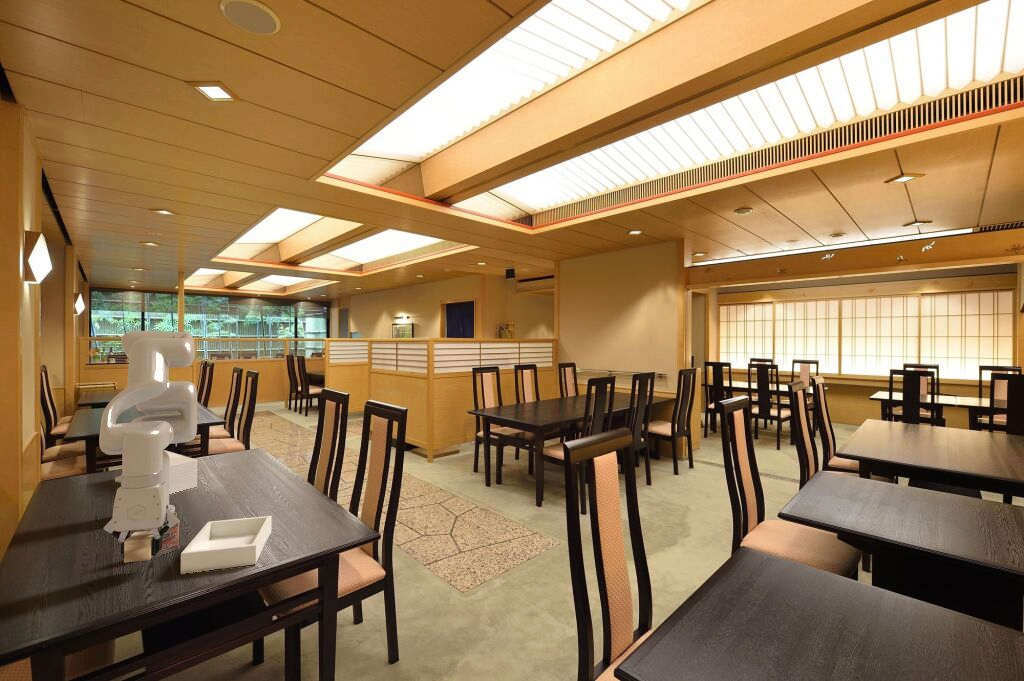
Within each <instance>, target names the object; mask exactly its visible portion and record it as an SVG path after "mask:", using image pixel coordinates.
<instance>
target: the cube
mask: <svg viewBox="0 0 1024 681" xmlns="http://www.w3.org/2000/svg"><path fill="white" fill-rule="evenodd" d="M153 539H154V536H153V533H152V531H143V532H142V531H134V532H133V533H131V534H130V537H129V538H128V539H126V540H125V541H124V559H123V563H125V564H126V563H130V562H131V563H133V562H134V563H135V562H141V561H143V562H144V561H150V560H151V559H153V558H152V557H153V556H152V540H153Z"/></svg>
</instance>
